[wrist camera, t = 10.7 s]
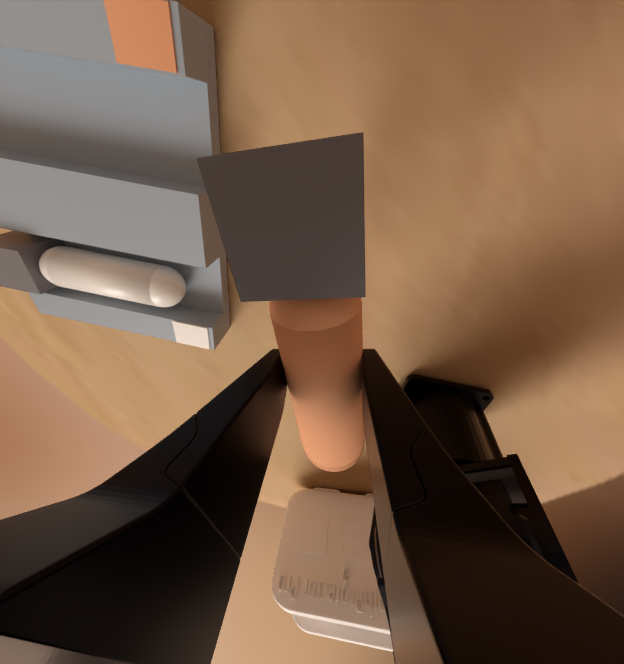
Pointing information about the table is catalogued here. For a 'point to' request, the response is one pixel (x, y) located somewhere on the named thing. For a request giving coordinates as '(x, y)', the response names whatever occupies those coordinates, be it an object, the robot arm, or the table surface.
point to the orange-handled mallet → (303, 274)
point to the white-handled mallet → (84, 271)
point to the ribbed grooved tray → (115, 151)
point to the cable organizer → (330, 568)
